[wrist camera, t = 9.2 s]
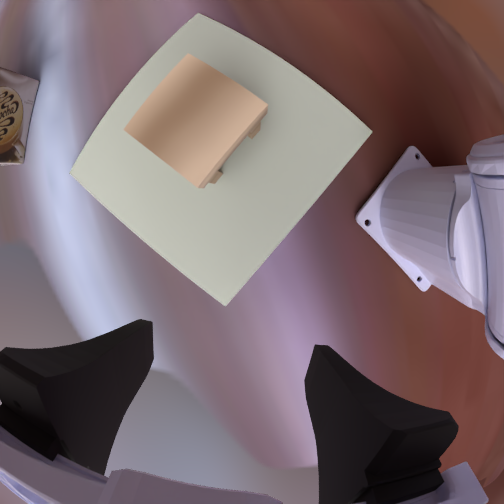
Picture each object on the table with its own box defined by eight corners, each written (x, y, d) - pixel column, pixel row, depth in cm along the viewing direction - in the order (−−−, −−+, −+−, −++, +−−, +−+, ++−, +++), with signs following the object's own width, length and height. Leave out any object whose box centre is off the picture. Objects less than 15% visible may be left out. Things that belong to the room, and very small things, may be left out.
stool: (265, 129, 17) (268, 104, 12) (215, 188, 18) (197, 187, 13) (206, 87, 17) (188, 53, 11) (158, 144, 18) (123, 129, 12)
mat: (369, 133, 18) (372, 131, 17) (226, 303, 21) (225, 306, 20) (199, 16, 16) (197, 12, 15) (73, 173, 19) (69, 173, 18)
